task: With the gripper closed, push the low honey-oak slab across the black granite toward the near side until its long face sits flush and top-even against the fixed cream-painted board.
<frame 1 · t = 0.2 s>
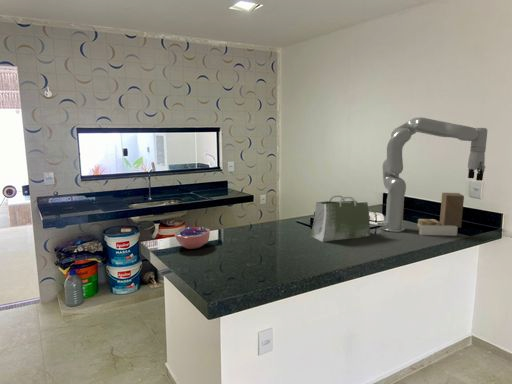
hand: (475, 179, 220), 31 cm above the countertop, fingers open, 9 cm apart
cream board: (437, 234, 217), on the countertop
grocery bag: (340, 236, 214), on the countertop
wooden block: (450, 225, 237), on the countertop
oak block: (428, 228, 230), on the countertop
cell model: (193, 247, 194), on the countertop
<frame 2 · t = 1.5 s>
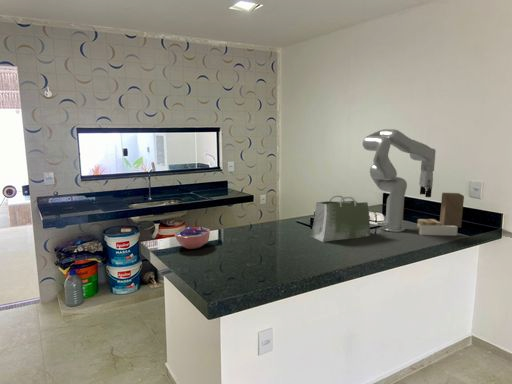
hand: (425, 195, 237), 18 cm above the countertop, fingers open, 9 cm apart
nothing on the countertop moved.
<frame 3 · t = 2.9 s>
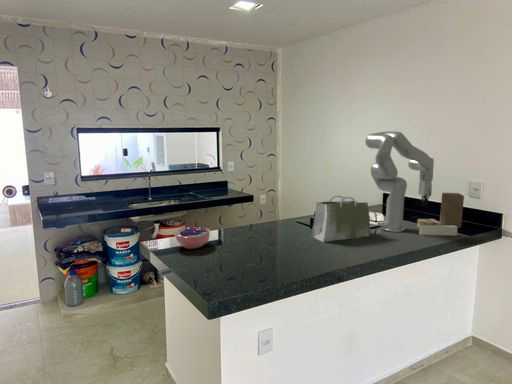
hand: (424, 206, 239), 11 cm above the countertop, fingers closed
nothing on the countertop moved.
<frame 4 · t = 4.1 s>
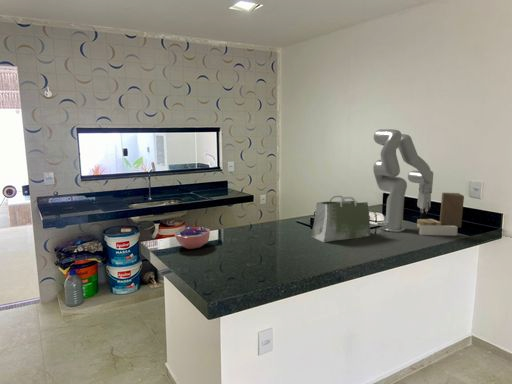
hand: (423, 219, 239), 3 cm above the countertop, fingers closed
nothing on the countertop moved.
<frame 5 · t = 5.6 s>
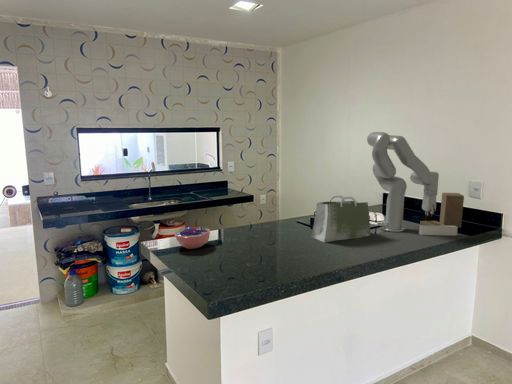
hand: (428, 221, 232), 4 cm above the countertop, fingers closed
oak block: (431, 230, 226), on the countertop, touching gripper
everything else where it was.
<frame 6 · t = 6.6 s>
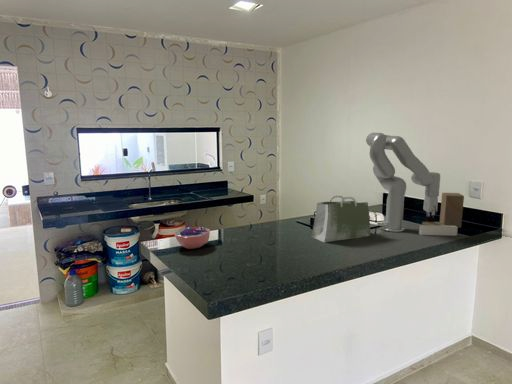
hand: (429, 223, 229), 4 cm above the countertop, fingers closed
oak block: (433, 232, 224), on the countertop
everything else where it was.
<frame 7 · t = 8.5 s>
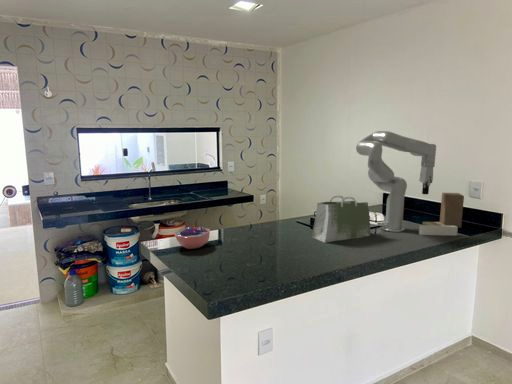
hand: (425, 194, 233), 20 cm above the countertop, fingers closed
nothing on the countertop moved.
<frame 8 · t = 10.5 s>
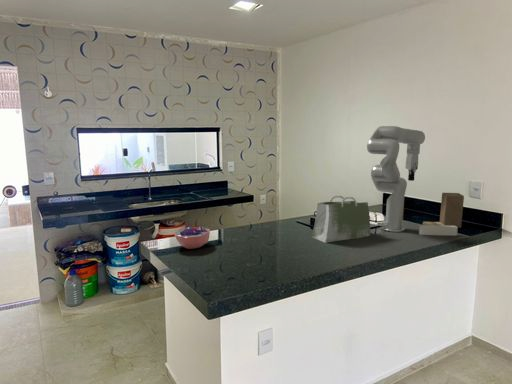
hand: (411, 180, 242), 27 cm above the countertop, fingers closed
at the end: oak block 0.3 cm from the target spot on the countertop beside the cream board, on the countertop; oak block tilted 0° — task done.
